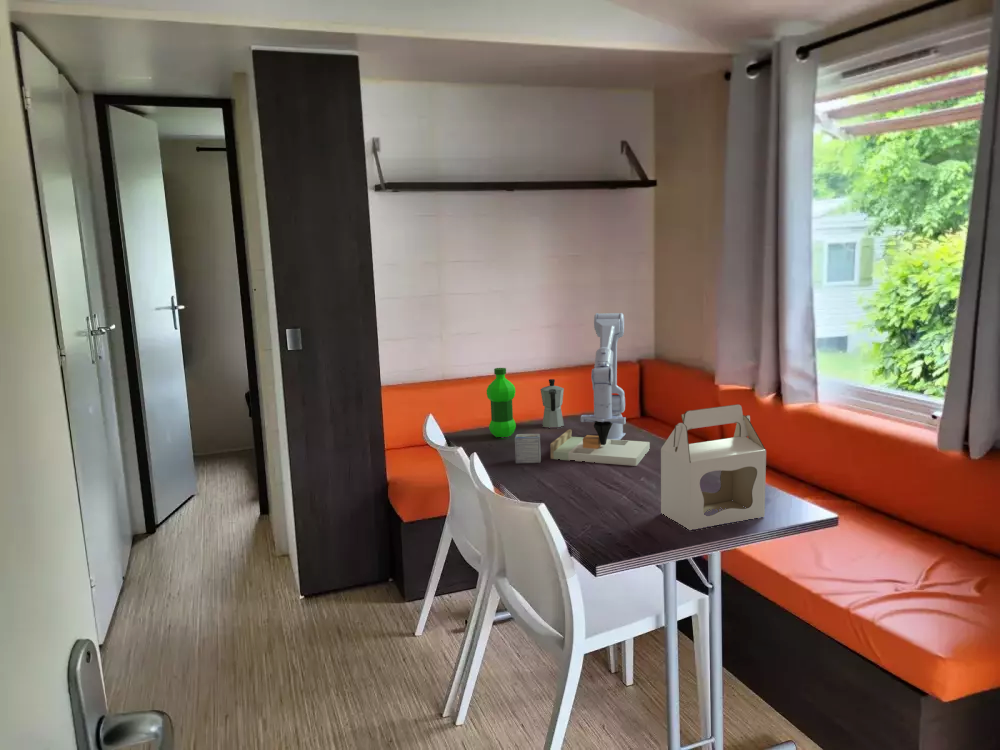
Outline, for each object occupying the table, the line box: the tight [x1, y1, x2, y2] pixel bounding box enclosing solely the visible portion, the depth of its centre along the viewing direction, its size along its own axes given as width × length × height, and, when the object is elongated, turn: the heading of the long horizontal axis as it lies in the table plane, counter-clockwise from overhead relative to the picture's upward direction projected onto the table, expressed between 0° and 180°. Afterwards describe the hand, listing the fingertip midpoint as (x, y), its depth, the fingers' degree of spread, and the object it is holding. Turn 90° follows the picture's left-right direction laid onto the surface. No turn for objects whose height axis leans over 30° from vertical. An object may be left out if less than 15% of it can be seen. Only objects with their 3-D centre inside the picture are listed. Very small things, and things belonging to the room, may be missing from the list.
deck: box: [549, 429, 651, 467], centre depth 246 cm, size 19×28×5 cm
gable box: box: [660, 403, 767, 530], centre depth 188 cm, size 22×13×28 cm, turn 109°
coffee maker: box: [540, 378, 565, 428], centre depth 283 cm, size 15×9×18 cm, turn 178°
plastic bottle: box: [486, 367, 517, 438], centre depth 271 cm, size 10×10×25 cm
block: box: [583, 434, 601, 449], centre depth 247 cm, size 5×5×3 cm
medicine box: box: [514, 433, 542, 464], centre depth 241 cm, size 8×4×9 cm, turn 84°
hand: (603, 444), depth 246 cm, fingers closed
